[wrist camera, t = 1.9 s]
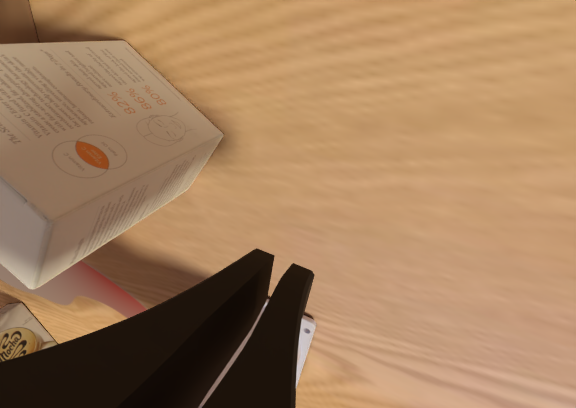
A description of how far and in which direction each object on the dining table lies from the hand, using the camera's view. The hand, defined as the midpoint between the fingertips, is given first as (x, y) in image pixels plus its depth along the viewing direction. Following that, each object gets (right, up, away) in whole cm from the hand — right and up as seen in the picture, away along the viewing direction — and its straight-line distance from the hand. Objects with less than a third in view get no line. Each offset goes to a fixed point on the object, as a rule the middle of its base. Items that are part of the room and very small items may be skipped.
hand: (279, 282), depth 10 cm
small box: (-8, +8, +10) cm, 15 cm away
